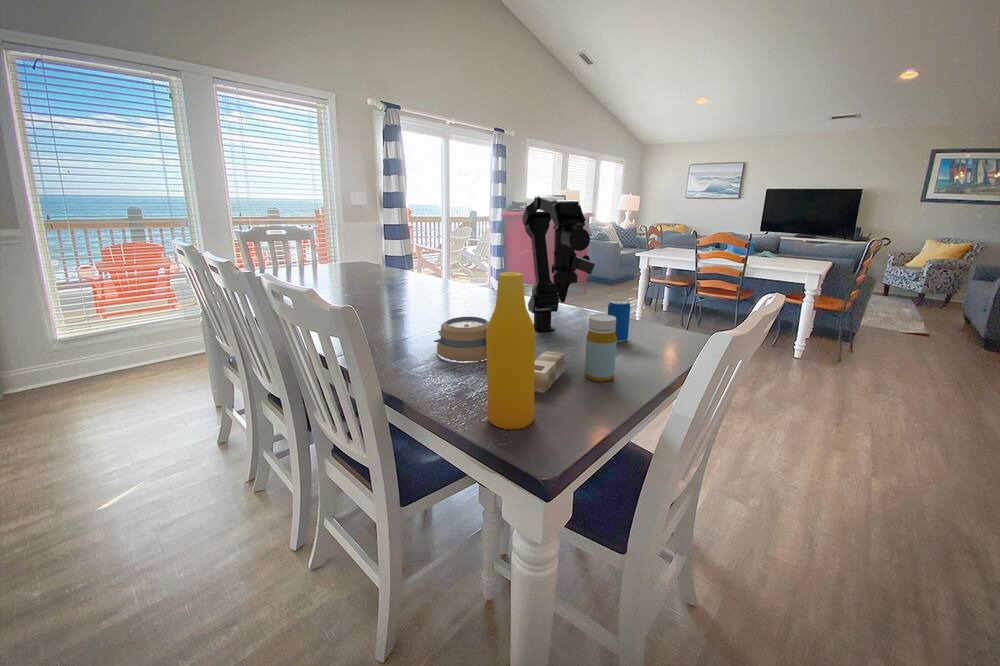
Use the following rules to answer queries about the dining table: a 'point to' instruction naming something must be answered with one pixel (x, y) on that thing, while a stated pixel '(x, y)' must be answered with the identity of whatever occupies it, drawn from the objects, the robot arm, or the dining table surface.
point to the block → (547, 370)
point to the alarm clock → (463, 339)
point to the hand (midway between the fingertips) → (562, 302)
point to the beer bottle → (510, 356)
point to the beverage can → (620, 317)
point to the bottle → (601, 348)
